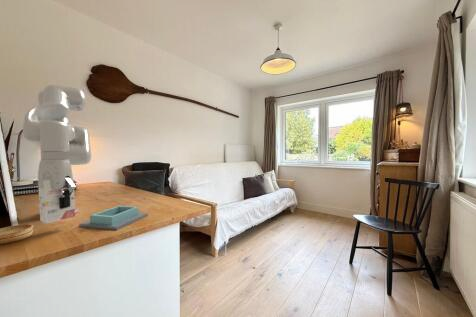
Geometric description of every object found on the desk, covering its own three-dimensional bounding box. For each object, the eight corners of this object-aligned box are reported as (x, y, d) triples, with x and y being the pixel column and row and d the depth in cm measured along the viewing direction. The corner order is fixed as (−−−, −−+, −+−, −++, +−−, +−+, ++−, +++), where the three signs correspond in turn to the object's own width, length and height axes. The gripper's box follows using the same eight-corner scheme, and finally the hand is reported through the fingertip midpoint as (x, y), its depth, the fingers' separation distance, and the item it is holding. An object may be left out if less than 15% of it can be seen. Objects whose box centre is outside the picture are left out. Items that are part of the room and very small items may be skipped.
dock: (79, 226, 77) (78, 215, 77) (115, 213, 94) (115, 204, 94) (116, 230, 73) (116, 219, 73) (147, 215, 90) (147, 206, 90)
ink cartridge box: (69, 214, 78) (68, 175, 77) (75, 216, 75) (74, 177, 75) (39, 220, 71) (37, 178, 70) (44, 224, 68) (42, 180, 67)
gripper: (24, 156, 70) (26, 207, 71) (63, 157, 66) (65, 212, 67) (48, 155, 77) (50, 202, 78) (85, 156, 73) (87, 205, 75)
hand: (57, 206), depth 73 cm, fingers closed on ink cartridge box, 6 cm apart
